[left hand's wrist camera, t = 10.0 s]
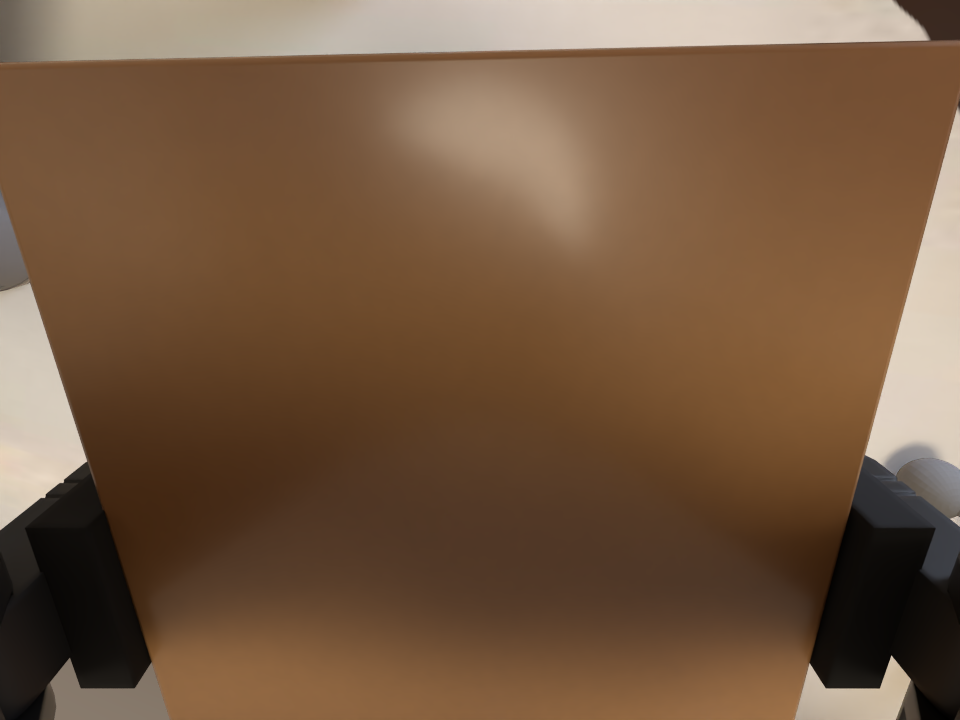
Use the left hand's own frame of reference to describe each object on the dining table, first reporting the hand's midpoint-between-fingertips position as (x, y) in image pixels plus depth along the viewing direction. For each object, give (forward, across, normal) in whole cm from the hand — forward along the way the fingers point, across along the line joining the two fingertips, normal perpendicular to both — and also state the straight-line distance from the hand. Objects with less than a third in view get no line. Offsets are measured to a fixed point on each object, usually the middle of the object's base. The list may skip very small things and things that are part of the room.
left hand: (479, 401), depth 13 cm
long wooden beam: (+1, 0, -23) cm, 23 cm away
